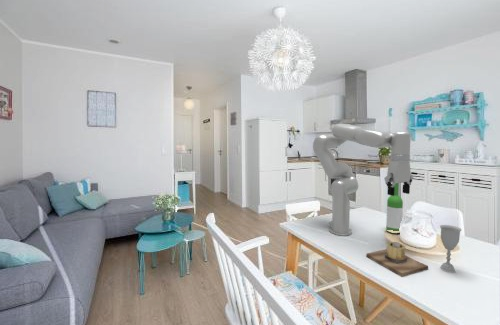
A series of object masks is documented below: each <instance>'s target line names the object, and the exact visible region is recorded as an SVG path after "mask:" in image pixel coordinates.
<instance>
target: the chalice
mask: <svg viewBox="0 0 500 325" xmlns="http://www.w3.org/2000/svg"><path fill="white" fill-rule="evenodd" d="M439 227H440V239H441V240H440V241H441V243H442V246H443V247H444V249H445V250H446V251H447V252H446V253H445V254H446V257H445V259H446V261H445V262H443V263H442V264H441V266H440V268H439V269H440V270H441V271H443V272H446V273H450V274H454V273H456V269H455V267H454V265H453V264H452V263H451V260H452V258H451V255H452V254H451V251H453V250H455V248H456V247H457V246H458V244H459V243H460V235H461V234H460V233H461V231H462V230H463V229H462V228H461V227H458V226H455V225H450V224H441V225H439Z"/></svg>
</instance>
